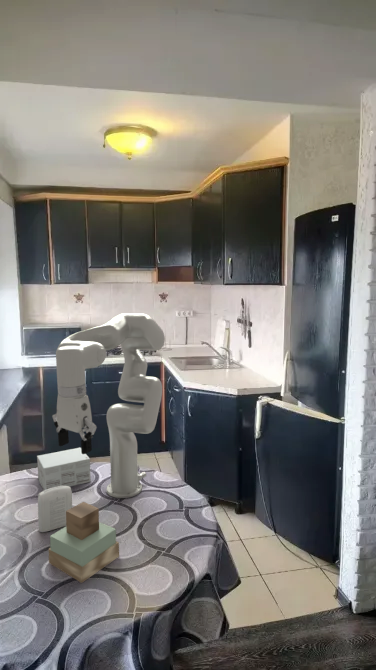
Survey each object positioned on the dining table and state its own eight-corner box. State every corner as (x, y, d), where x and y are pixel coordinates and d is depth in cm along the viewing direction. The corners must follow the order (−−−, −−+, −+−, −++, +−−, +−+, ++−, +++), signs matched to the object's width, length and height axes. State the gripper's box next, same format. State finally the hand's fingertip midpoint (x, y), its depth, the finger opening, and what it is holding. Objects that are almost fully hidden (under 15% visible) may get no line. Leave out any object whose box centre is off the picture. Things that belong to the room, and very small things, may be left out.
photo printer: (70, 518, 136) (69, 480, 135) (74, 524, 133) (73, 486, 131) (36, 528, 131) (35, 489, 129) (40, 534, 127) (39, 495, 126)
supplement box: (81, 469, 173) (80, 446, 172) (91, 482, 161) (90, 458, 160) (37, 478, 164) (36, 454, 163) (44, 493, 153) (43, 467, 152)
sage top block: (85, 528, 123) (84, 515, 123) (116, 542, 117) (115, 528, 116) (50, 550, 113) (50, 535, 113) (82, 566, 107) (81, 551, 106)
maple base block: (87, 541, 125) (86, 526, 124) (119, 557, 117) (119, 542, 117) (49, 564, 114) (48, 548, 114) (81, 584, 107) (81, 567, 106)
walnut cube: (84, 522, 119) (83, 501, 119) (99, 529, 116) (98, 508, 115) (66, 532, 115) (65, 510, 114) (81, 540, 111) (81, 518, 110)
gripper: (103, 391, 118) (106, 451, 121) (62, 382, 128) (65, 437, 131) (82, 398, 112) (85, 460, 115) (41, 388, 122) (44, 446, 125)
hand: (75, 448), depth 123 cm, fingers open, 9 cm apart
